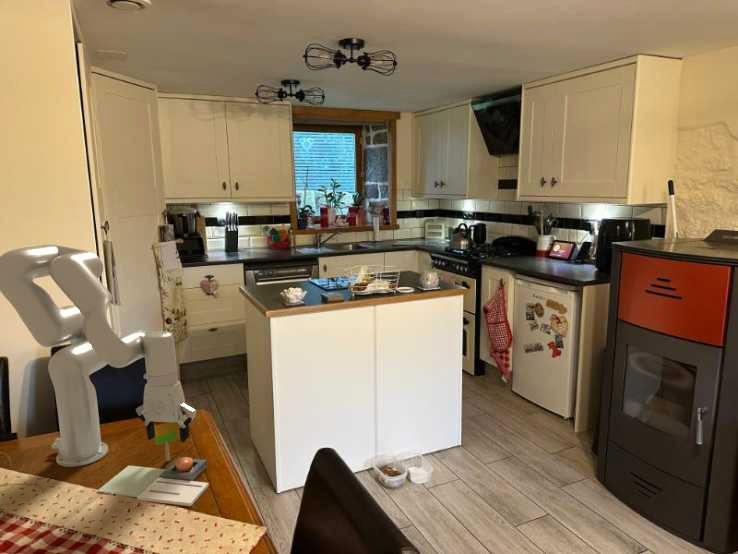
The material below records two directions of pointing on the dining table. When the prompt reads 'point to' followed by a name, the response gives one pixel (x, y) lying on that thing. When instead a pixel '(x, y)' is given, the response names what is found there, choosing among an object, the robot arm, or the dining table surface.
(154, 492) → the paper board
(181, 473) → the button housing
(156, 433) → the popsicle
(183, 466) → the button
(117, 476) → the mat
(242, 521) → the dining table surface
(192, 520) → the dining table surface
